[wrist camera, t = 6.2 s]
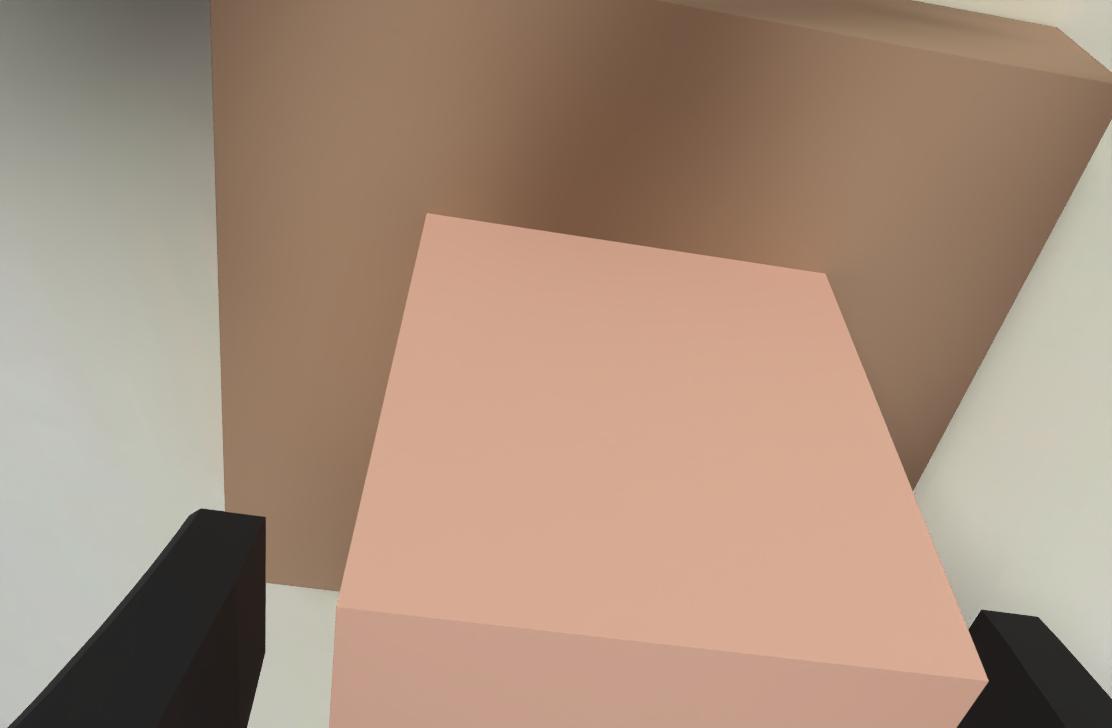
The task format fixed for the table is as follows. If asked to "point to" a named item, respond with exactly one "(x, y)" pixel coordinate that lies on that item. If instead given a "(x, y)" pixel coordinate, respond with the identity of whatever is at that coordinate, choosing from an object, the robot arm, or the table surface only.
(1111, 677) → the table surface
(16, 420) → the table surface
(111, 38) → the table surface
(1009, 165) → the board
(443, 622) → the block
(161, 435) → the table surface
